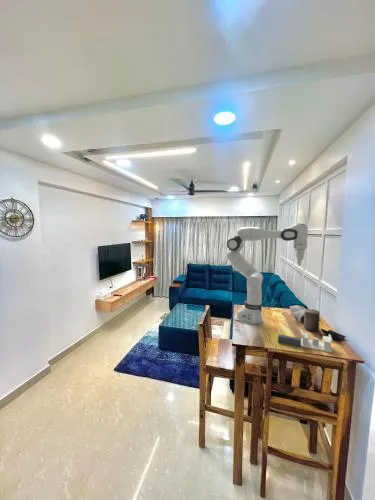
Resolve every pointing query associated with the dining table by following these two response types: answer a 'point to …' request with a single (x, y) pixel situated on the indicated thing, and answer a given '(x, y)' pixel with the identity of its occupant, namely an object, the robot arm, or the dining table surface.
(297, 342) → the tall charcoal prism
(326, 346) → the display stand
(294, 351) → the dining table surface
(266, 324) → the dining table surface
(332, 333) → the handheld gaming console
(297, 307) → the sculpture
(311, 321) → the pillar candle
